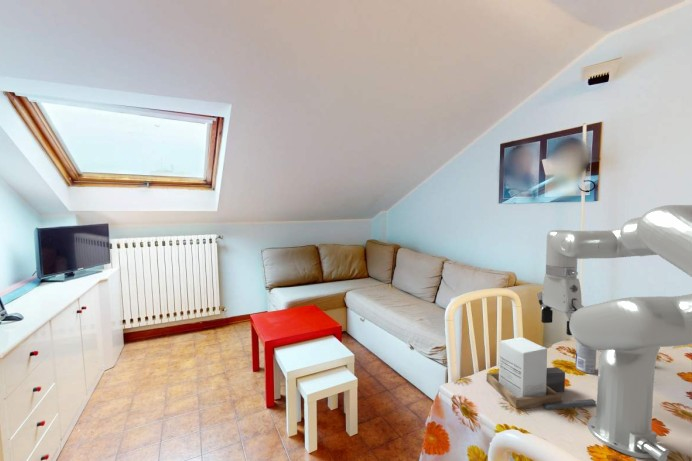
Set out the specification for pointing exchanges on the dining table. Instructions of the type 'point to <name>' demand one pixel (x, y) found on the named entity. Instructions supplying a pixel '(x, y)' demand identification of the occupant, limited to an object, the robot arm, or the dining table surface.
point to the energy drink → (585, 359)
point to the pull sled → (553, 385)
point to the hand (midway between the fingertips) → (558, 328)
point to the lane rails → (569, 404)
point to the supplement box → (523, 367)
